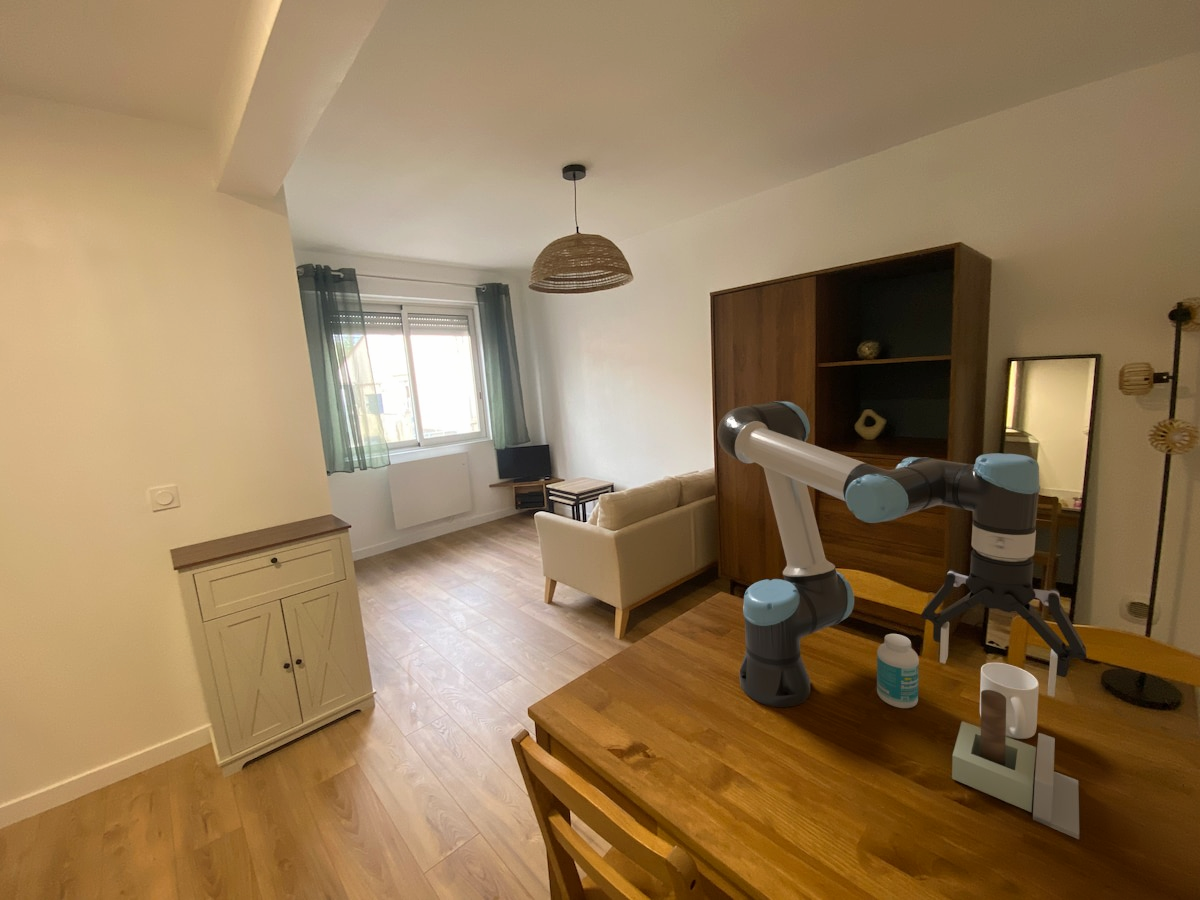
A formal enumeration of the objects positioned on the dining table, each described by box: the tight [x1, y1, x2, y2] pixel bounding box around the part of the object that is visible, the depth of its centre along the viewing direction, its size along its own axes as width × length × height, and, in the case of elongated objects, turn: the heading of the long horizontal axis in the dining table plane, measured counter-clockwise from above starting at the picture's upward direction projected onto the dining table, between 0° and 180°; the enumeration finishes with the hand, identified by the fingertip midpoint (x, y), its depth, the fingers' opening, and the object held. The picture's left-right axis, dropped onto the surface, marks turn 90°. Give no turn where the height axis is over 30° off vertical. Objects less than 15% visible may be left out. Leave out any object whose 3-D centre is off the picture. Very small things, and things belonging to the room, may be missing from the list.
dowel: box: [980, 690, 1007, 767], centre depth 79 cm, size 3×3×15 cm
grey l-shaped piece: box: [1032, 732, 1080, 840], centre depth 75 cm, size 5×12×7 cm, turn 136°
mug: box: [979, 662, 1040, 740], centre depth 89 cm, size 12×8×10 cm
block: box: [951, 720, 1037, 814], centre depth 80 cm, size 10×10×4 cm
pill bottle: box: [876, 633, 920, 709], centre depth 100 cm, size 8×7×14 cm
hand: (994, 674), depth 78 cm, fingers open, 13 cm apart
